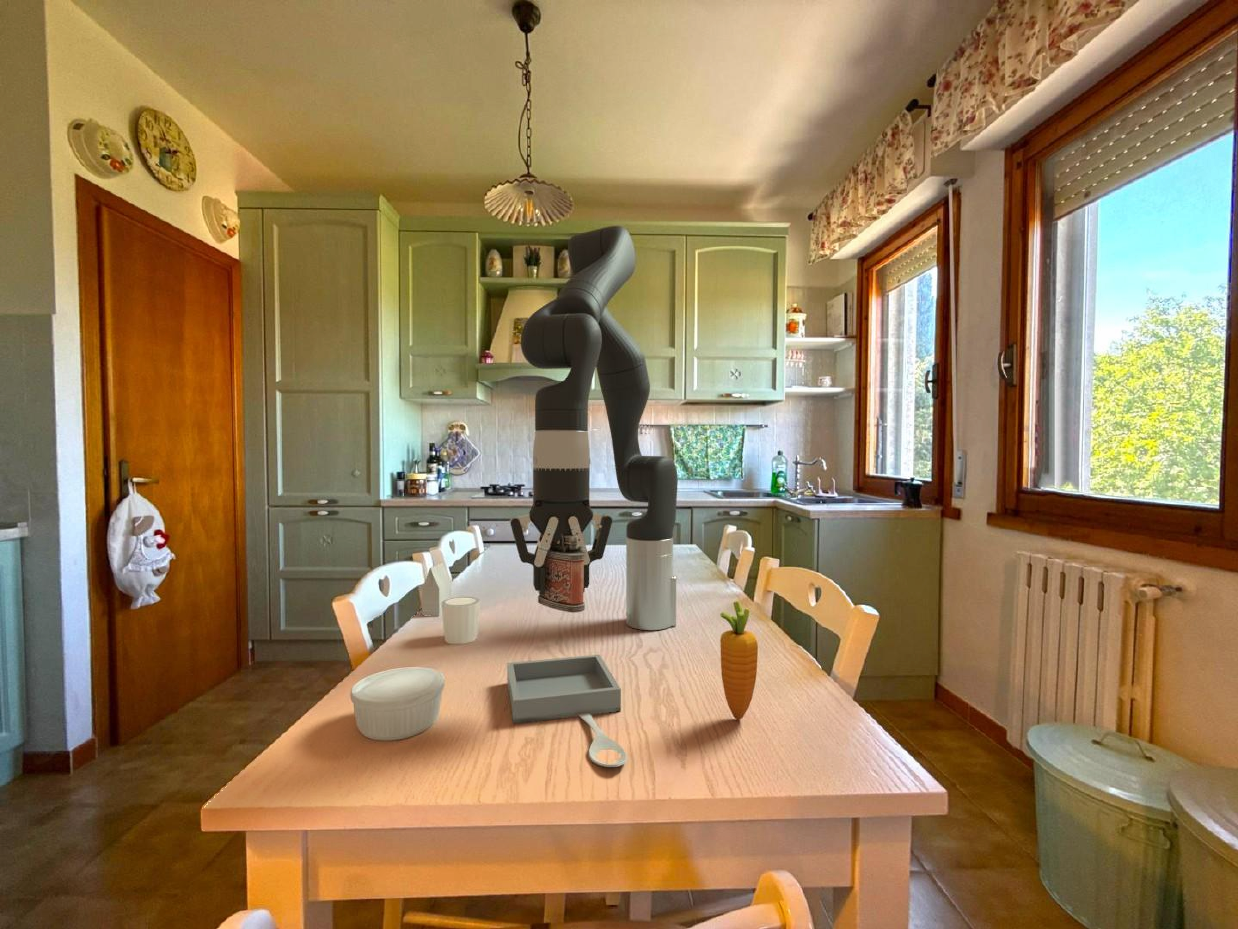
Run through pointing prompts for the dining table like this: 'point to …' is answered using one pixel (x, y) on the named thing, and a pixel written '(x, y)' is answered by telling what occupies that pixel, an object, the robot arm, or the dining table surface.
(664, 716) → the dining table surface
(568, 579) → the lighter
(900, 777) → the dining table surface
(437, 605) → the white milk carton
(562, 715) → the tray
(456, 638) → the cream cup
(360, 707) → the ramekin
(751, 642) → the carrot
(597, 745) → the spoon
